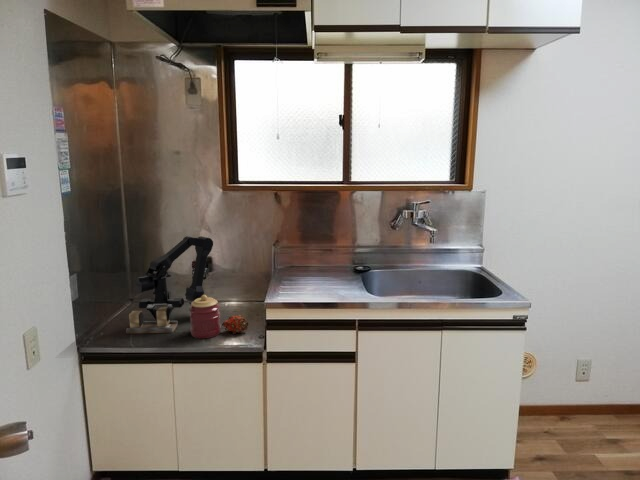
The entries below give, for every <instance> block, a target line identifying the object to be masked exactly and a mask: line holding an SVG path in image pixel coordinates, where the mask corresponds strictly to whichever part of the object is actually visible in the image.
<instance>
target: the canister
mask: <svg viewBox="0 0 640 480" xmlns="http://www.w3.org/2000/svg"><path fill="white" fill-rule="evenodd" d="M218 303H219V302H218V300H217V299H215V298H213V297H211V296H207V295H206V294H204V295H202V296H201V298H198V299H195V300H194V301H193V302H192V303H191V306H190V307H189V308H188V309H189V310H188V311H189V312H190V314H189V321H190V322H189V323H190V334H191V336H192V337H194V338H195V339H210V338H215V337H216V336H218V335H219V334H221V330H222V325H221V312H220V309H221V307H220V306H221V305H220V304H218Z"/></svg>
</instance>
